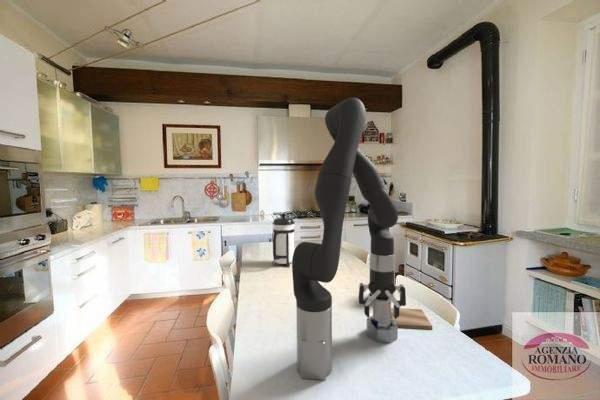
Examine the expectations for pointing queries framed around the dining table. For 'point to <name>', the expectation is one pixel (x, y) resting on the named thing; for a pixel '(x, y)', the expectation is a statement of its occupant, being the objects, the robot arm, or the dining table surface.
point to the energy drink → (382, 313)
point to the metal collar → (382, 331)
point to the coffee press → (283, 240)
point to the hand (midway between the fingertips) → (381, 316)
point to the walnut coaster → (411, 319)
